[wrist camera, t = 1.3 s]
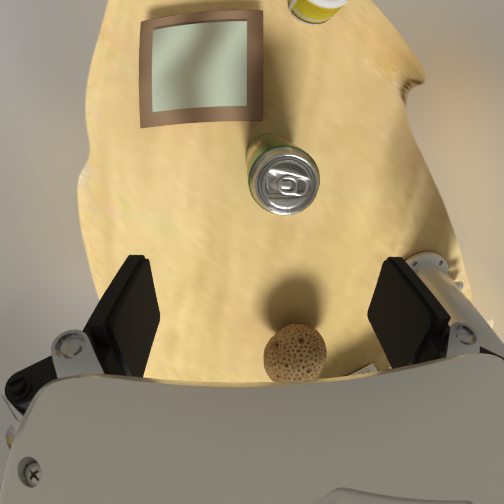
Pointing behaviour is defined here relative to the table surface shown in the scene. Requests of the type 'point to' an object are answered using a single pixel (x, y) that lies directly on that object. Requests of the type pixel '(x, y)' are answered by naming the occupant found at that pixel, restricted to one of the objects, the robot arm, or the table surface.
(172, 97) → the walnut picture frame
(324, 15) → the supplement bottle
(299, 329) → the natural sponge
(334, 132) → the table surface
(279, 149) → the soda can
